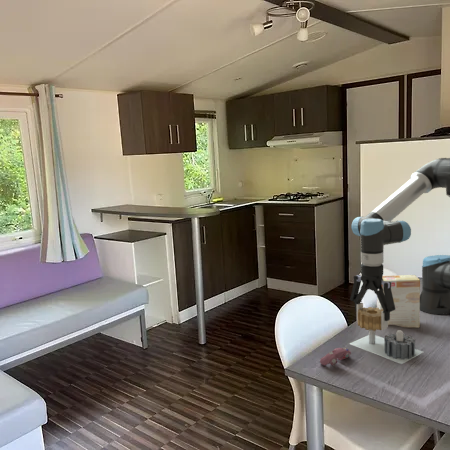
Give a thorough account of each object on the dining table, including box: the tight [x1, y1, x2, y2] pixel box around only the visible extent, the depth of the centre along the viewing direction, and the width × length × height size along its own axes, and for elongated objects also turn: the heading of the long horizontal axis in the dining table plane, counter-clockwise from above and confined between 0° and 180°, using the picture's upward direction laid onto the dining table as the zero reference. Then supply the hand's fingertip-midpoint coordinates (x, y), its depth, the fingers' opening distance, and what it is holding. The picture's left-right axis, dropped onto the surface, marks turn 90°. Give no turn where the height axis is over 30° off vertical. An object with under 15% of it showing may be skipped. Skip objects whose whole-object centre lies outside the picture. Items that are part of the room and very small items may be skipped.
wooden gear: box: [357, 306, 383, 332], centre depth 162 cm, size 10×10×5 cm
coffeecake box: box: [376, 274, 421, 329], centre depth 180 cm, size 15×7×20 cm, turn 84°
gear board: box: [349, 329, 424, 365], centre depth 158 cm, size 13×21×10 cm, turn 36°
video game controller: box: [319, 346, 352, 366], centre depth 152 cm, size 10×5×7 cm, turn 119°
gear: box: [383, 332, 416, 360], centre depth 154 cm, size 10×10×5 cm
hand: (371, 324), depth 162 cm, fingers closed on wooden gear, 10 cm apart
